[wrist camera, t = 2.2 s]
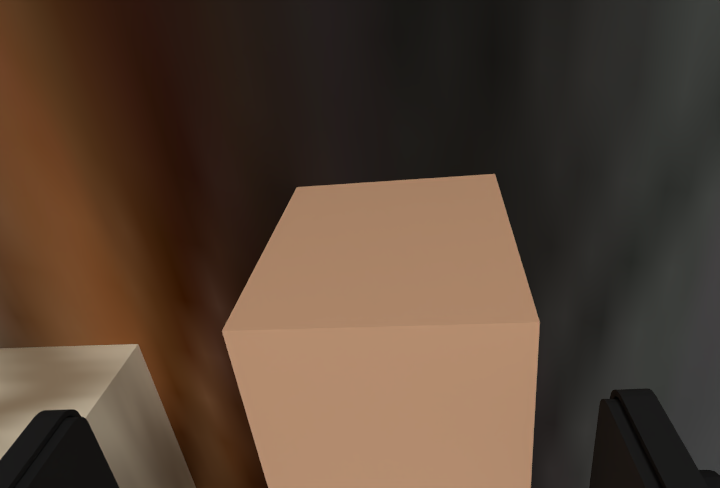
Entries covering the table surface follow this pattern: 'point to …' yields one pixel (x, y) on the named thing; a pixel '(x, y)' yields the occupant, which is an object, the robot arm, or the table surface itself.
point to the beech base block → (96, 407)
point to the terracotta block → (390, 340)
